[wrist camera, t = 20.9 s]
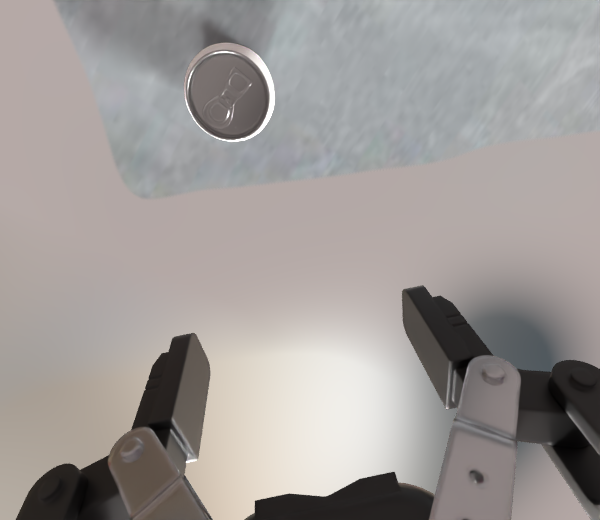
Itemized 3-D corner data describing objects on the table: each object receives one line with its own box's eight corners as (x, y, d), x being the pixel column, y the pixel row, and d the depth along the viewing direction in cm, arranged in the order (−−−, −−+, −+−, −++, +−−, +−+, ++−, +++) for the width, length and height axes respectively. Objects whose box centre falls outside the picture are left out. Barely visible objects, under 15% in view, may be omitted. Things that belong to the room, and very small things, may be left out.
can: (190, 89, 33) (160, 106, 23) (227, 27, 31) (212, 15, 21) (245, 132, 36) (241, 165, 26) (283, 78, 34) (295, 90, 23)
